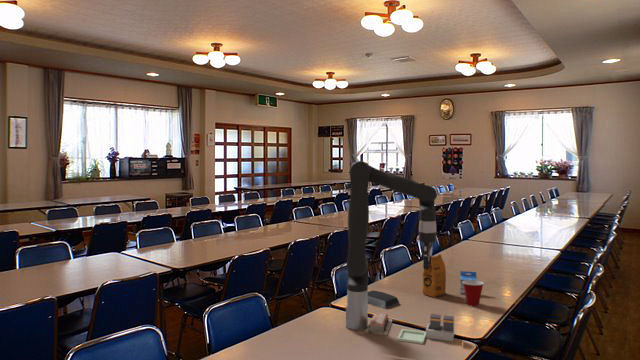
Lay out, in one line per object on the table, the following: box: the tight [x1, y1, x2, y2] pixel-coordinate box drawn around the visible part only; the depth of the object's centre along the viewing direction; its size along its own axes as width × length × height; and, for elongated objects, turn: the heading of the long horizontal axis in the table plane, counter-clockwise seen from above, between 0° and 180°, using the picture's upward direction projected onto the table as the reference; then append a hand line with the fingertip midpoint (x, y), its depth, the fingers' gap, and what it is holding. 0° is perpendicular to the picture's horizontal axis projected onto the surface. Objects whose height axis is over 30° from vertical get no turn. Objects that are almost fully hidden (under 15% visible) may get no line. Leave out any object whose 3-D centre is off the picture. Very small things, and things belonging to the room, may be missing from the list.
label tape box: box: [459, 270, 478, 295], centre depth 248 cm, size 9×4×12 cm, turn 73°
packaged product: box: [364, 312, 393, 336], centre depth 199 cm, size 18×5×10 cm
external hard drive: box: [368, 289, 400, 309], centre depth 235 cm, size 13×19×4 cm
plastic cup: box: [462, 280, 485, 307], centre depth 230 cm, size 11×11×12 cm
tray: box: [396, 328, 426, 345], centre depth 187 cm, size 11×11×2 cm
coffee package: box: [421, 253, 447, 298], centre depth 248 cm, size 10×12×22 cm
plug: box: [429, 313, 442, 331], centre depth 189 cm, size 4×4×8 cm
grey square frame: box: [425, 314, 455, 342], centre depth 188 cm, size 11×8×9 cm
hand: (427, 266), depth 196 cm, fingers open, 8 cm apart
